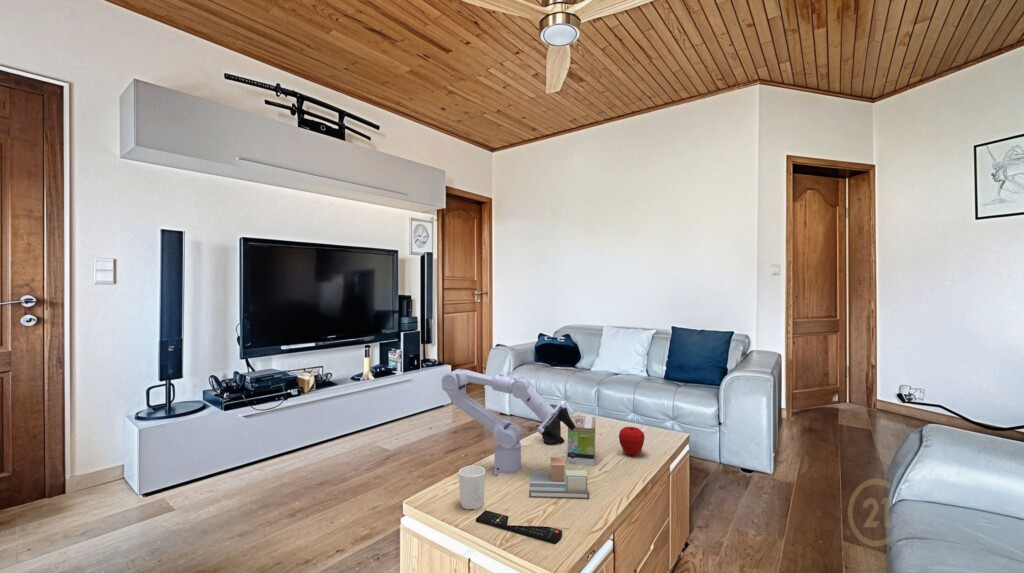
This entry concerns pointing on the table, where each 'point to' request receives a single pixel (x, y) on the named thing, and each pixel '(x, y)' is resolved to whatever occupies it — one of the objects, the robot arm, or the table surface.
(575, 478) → the sage carton
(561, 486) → the shelf board
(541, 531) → the remote control
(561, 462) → the terracotta carton
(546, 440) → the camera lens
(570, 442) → the tea box
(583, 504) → the table surface
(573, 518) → the table surface
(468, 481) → the white cup
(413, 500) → the table surface
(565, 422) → the robot arm
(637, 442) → the apple
